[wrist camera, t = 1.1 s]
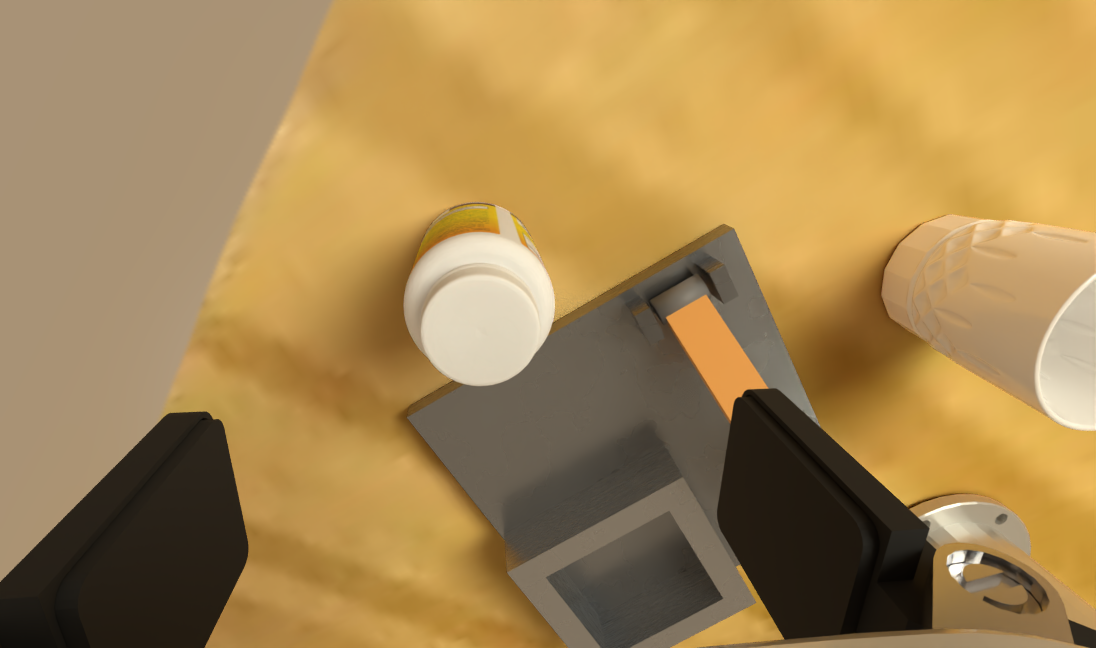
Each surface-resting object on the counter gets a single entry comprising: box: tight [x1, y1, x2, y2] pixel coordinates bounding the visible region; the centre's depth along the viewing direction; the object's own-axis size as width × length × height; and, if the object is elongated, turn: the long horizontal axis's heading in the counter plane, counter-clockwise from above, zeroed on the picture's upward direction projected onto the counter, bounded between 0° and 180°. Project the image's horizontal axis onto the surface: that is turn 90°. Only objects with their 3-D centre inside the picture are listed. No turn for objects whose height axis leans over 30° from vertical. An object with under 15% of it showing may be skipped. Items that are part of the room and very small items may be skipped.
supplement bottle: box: [404, 202, 555, 386], centre depth 23 cm, size 6×6×10 cm
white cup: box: [881, 214, 1096, 431], centre depth 27 cm, size 8×8×10 cm
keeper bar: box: [650, 274, 769, 423], centre depth 26 cm, size 11×3×1 cm
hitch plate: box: [407, 224, 821, 648], centre depth 31 cm, size 20×19×4 cm
